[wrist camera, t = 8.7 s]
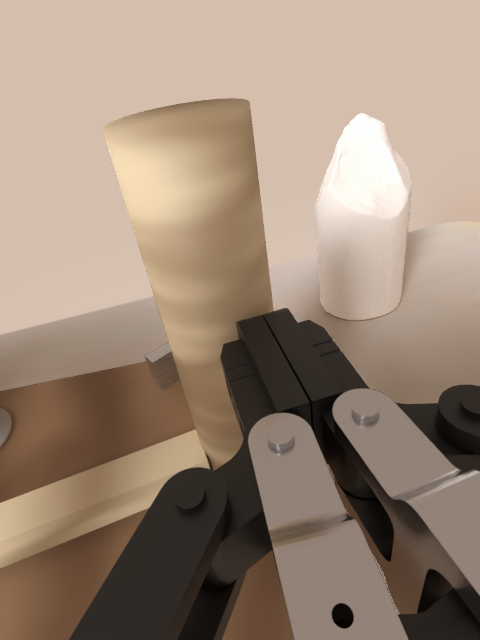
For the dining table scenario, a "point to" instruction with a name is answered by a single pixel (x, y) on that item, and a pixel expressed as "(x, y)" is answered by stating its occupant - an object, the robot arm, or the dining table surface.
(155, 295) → the hinged leg
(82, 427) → the stool seat
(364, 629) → the robot arm
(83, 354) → the dining table surface
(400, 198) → the white pointed cylinder
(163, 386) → the corner bracket
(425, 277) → the dining table surface
